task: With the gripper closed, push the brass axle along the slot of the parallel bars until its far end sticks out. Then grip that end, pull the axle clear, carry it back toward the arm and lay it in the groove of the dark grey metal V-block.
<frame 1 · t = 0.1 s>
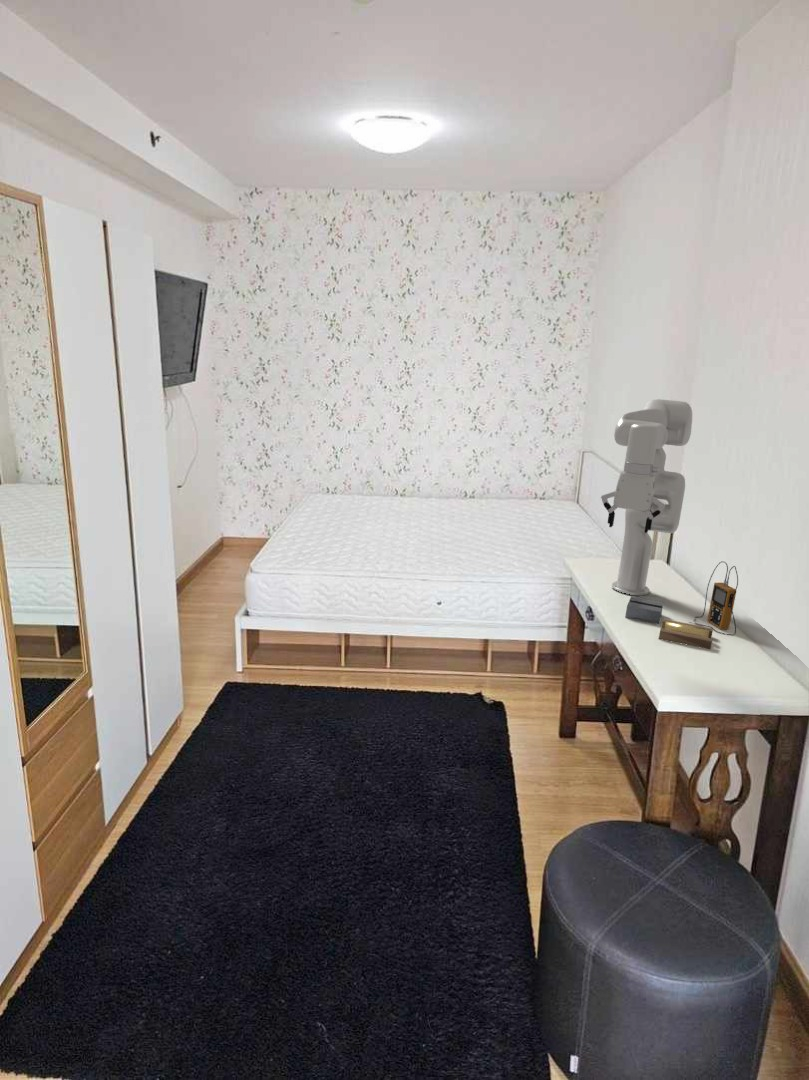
hand: (628, 529, 204), 31 cm above the table, tool pointing down, fingers open, 9 cm apart
multimeter: (707, 626, 223), on the table
v block: (643, 615, 227), on the table
parallel bars: (685, 637, 212), on the table
axle: (686, 632, 211), point 2 cm above the table
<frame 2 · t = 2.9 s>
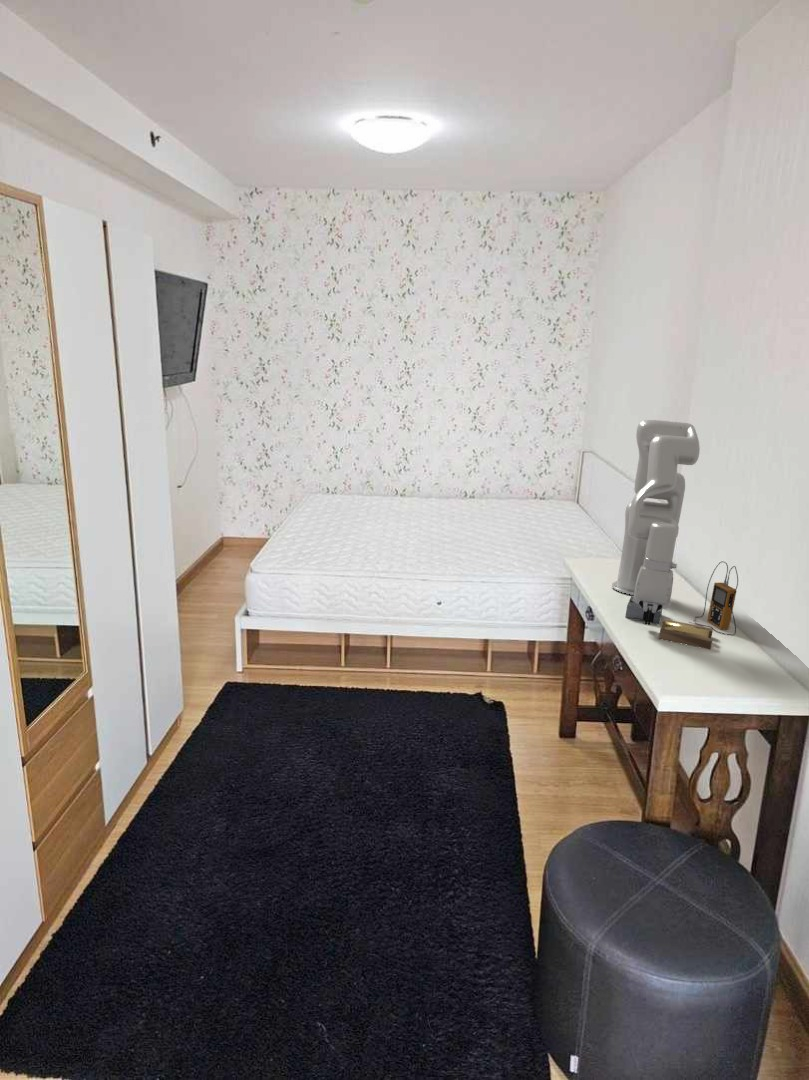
hand: (647, 623, 215), 2 cm above the table, tool pointing down, fingers closed
nothing on the table moved.
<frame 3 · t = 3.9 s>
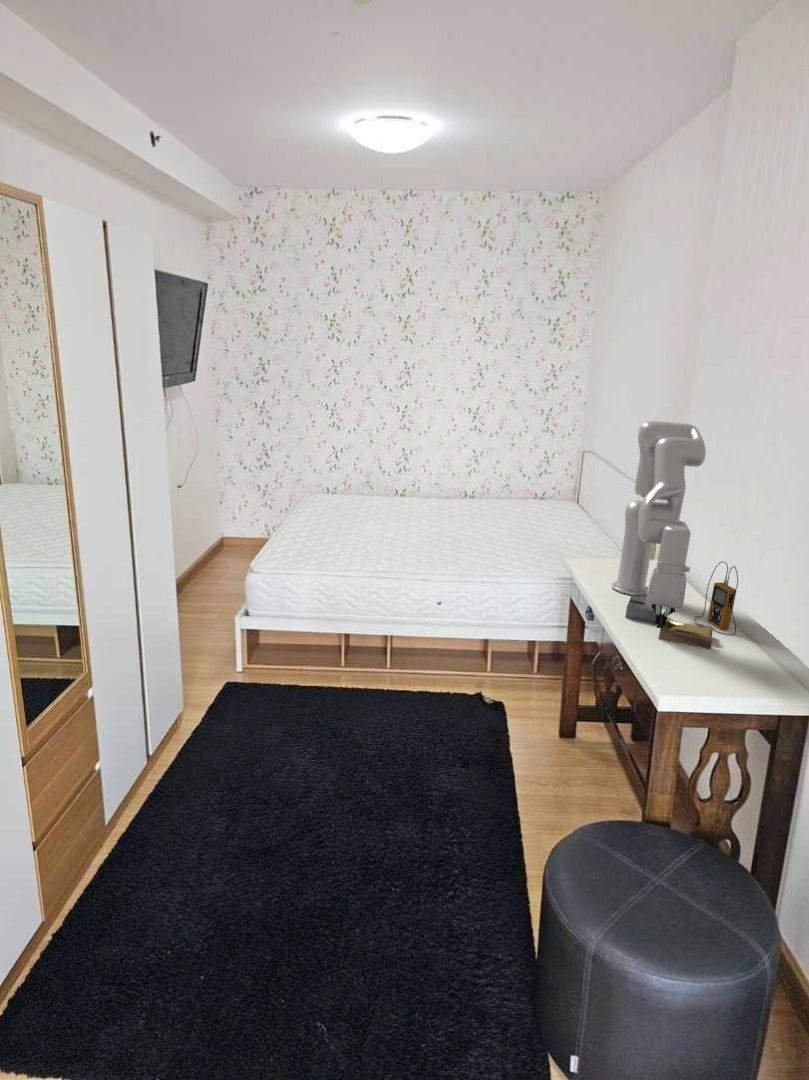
hand: (659, 626, 214), 2 cm above the table, tool pointing down, fingers closed
axle: (688, 630, 212), point 2 cm above the table, tilted 33°, touching gripper
everything else where it was.
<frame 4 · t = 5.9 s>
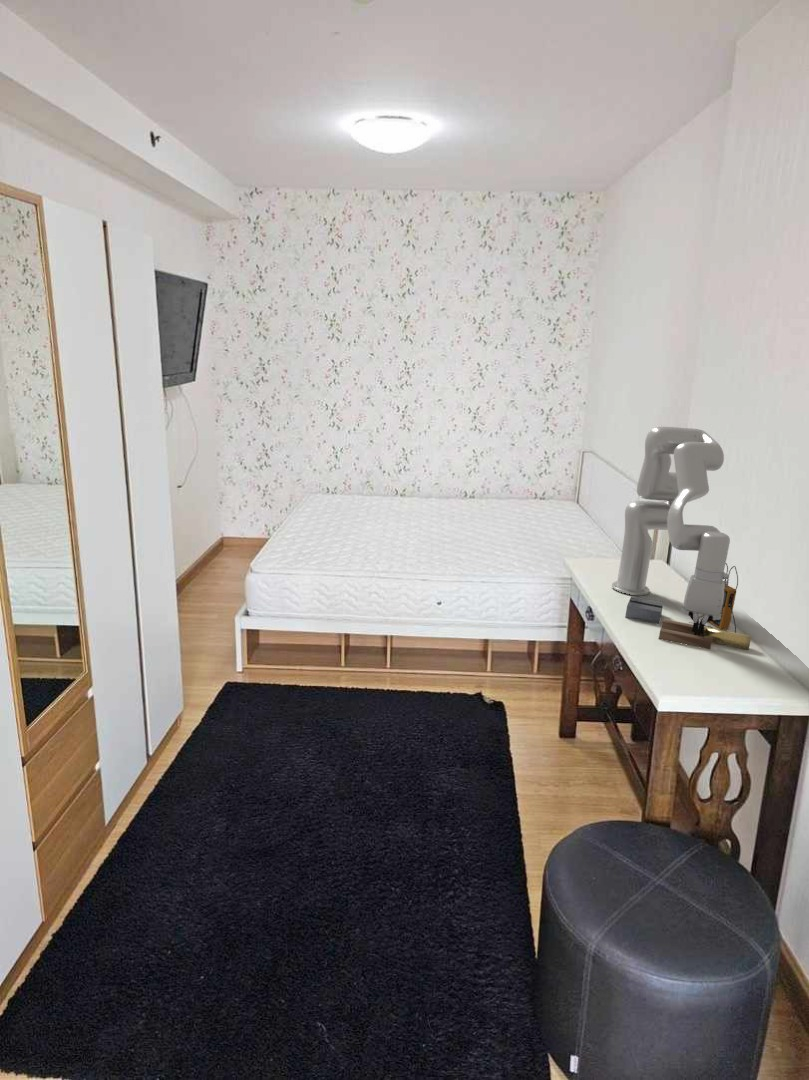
hand: (697, 634, 210), 2 cm above the table, tool pointing down, fingers closed
axle: (726, 638, 208), point 2 cm above the table, tilted 31°, touching gripper
everything else where it was.
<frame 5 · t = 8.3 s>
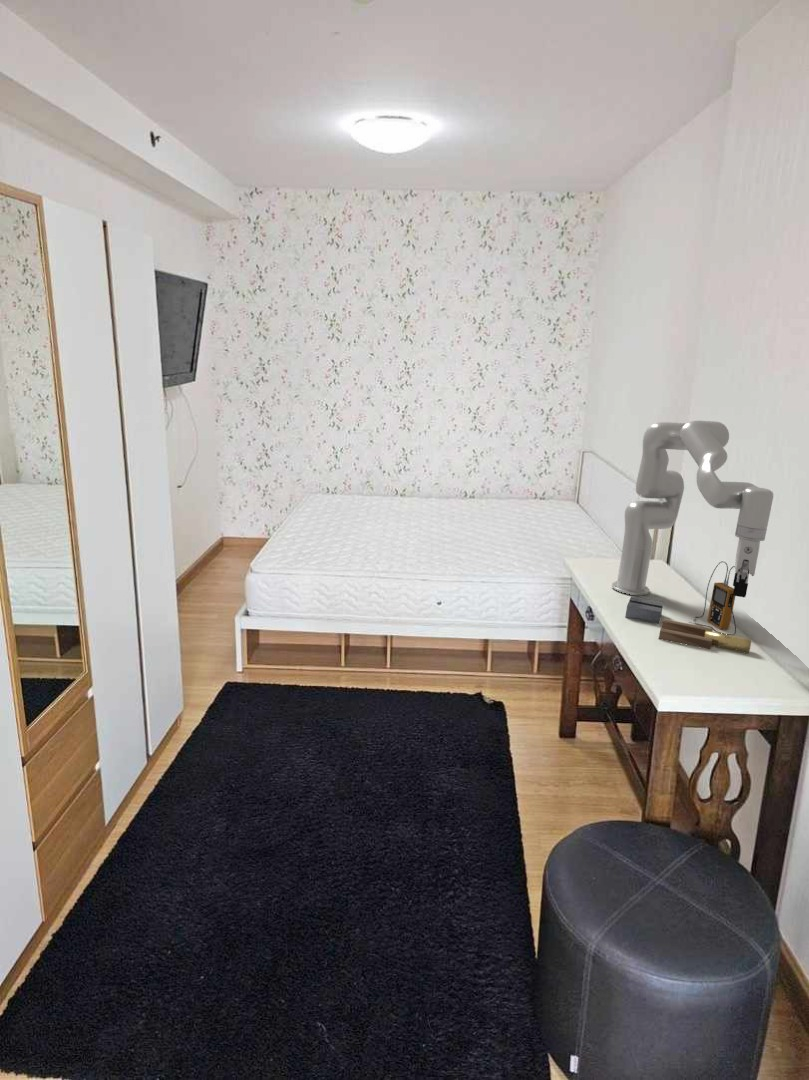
hand: (738, 591, 203), 17 cm above the table, tool pointing down, fingers open, 9 cm apart
axle: (726, 641, 206), point 2 cm above the table, tilted 44°
everything else where it was.
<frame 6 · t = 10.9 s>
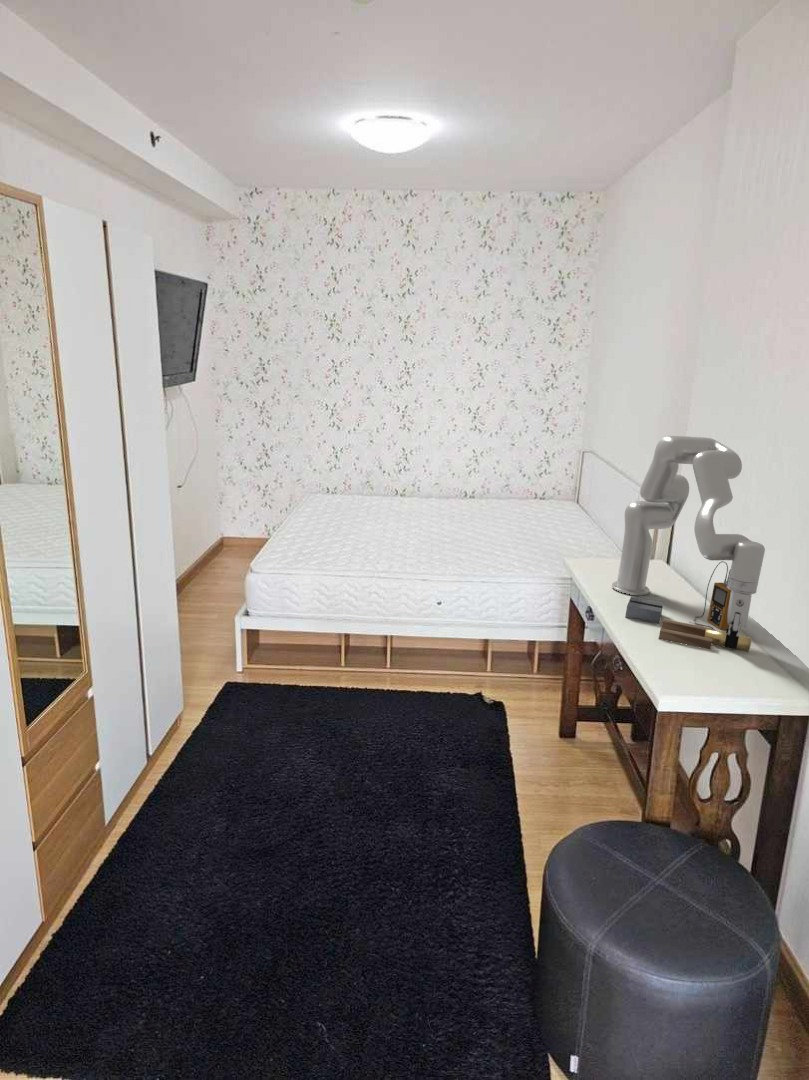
hand: (730, 644, 207), 1 cm above the table, tool pointing down, fingers closed on axle, 4 cm apart
axle: (727, 639, 207), point 2 cm above the table, tilted 11°, touching gripper
everything else where it was.
when the fingers open (5 cm above the table, at t = 21.8 s): axle stays where it is, resting on v block.
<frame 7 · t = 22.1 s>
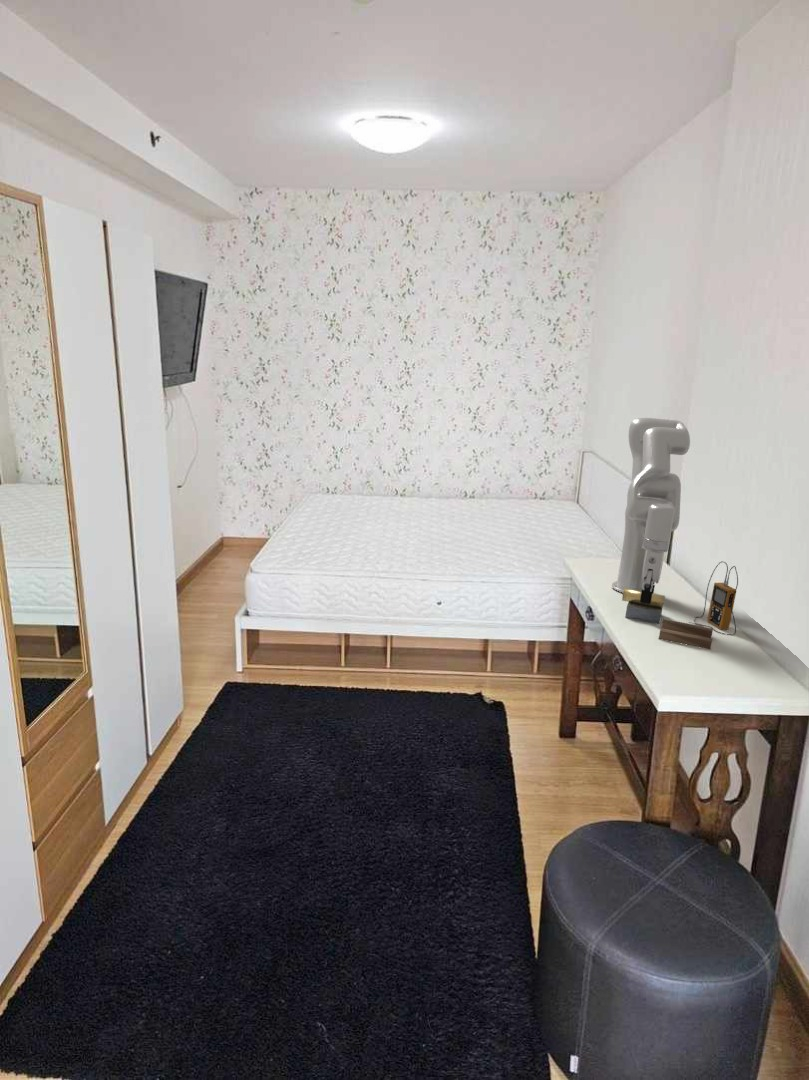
hand: (646, 599, 226), 6 cm above the table, tool pointing down, fingers open, 6 cm apart
axle: (643, 598, 226), point 6 cm above the table, tilted 15°, touching v block
everything else where it was.
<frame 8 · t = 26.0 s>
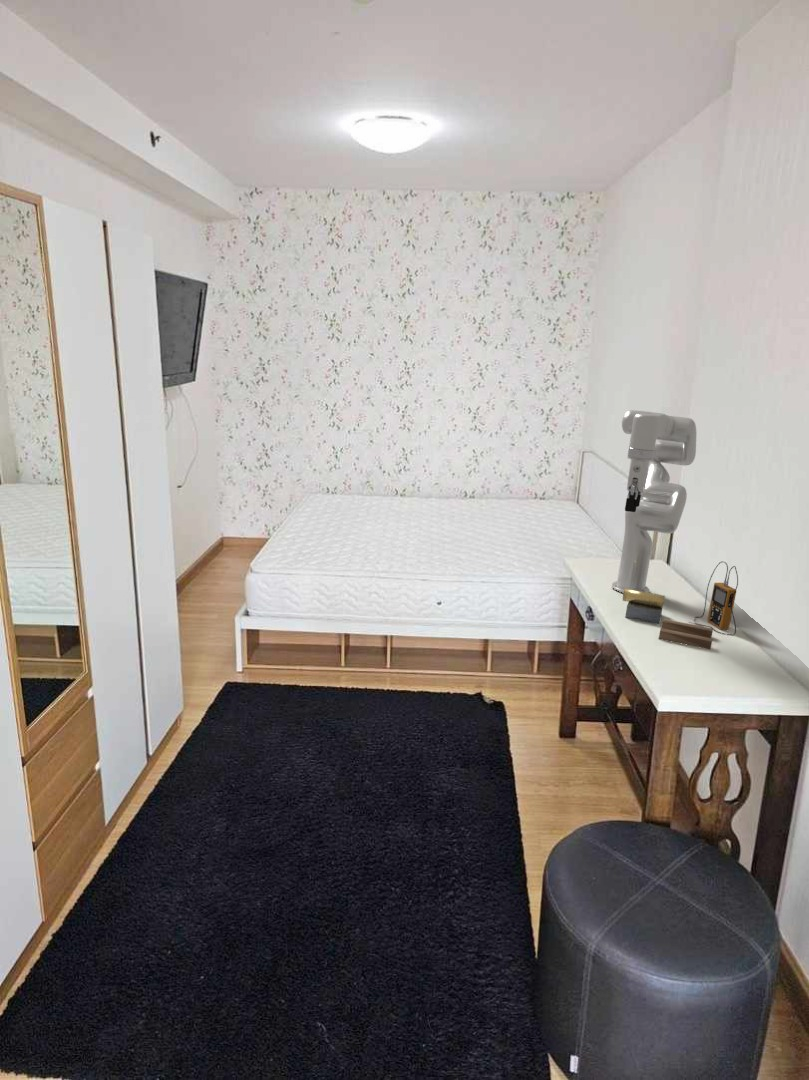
hand: (631, 508, 227), 32 cm above the table, tool pointing down, fingers open, 9 cm apart
nothing on the table moved.
at the end: axle inside the target area on the v block (0.9 cm from its centre), point 5.7 cm above the v block's base; axle touching v block; the gripper is holding nothing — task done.
